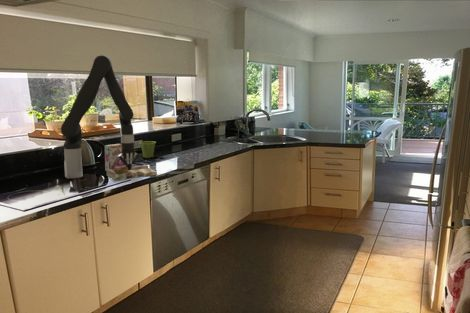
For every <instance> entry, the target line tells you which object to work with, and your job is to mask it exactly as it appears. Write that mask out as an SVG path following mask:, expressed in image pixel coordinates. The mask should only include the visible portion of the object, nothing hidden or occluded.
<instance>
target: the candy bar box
mask: <svg viewBox="0 0 470 313" xmlns="http://www.w3.org/2000/svg"><path fill="white" fill-rule="evenodd" d="M121 152H122V147H121V143H115V144H114V143H113V144H105V145H104V168H105V169H104V170H105V171H106V172H107V169H106V168H109V169H114V167H115V166H125V163H123V162H122V161H121V160H120V159H119V158H118V155H120V154H121ZM122 156H123V155H122ZM123 159H124V160H125V158H124V157H123Z"/></svg>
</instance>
